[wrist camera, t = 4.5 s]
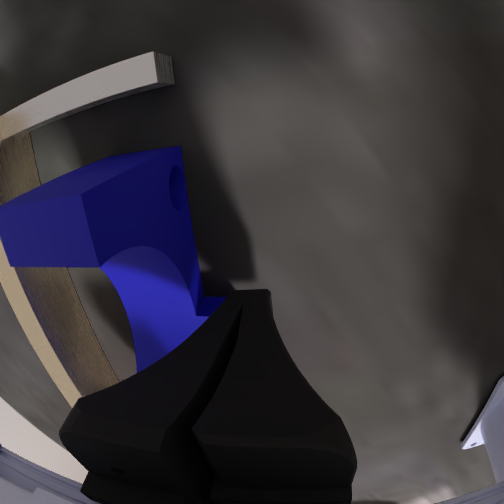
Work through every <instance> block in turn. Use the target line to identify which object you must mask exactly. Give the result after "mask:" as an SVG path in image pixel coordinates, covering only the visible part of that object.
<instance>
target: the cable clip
mask: <svg viewBox="0 0 504 504" xmlns="http://www.w3.org/2000/svg"><path fill="white" fill-rule="evenodd" d="M0 238H1V241H2V244H3V247H4V250H5V253H6V256H7V259H8V262H9V264H10V267H100V268H101V269H102V270H103V271H104V272H105V274H106V275H107V276H108V278H109V279H110V280H111V282H112V283H113V285H114V286H115V288H116V290H117V292H118V294H119V296H120V298H121V300H122V302H123V305H124V307H125V310H126V313H127V316H128V319H129V323H130V326H131V330H132V335H133V340H134V346H135V354H136V364H137V373H139V372H140V371H142V370H144V369H145V368H147V367H148V366H150V365H152V364H153V363H155V362H156V361H158V360H160V359H161V358H163V357H164V356H165V355H167V354H168V353H169V352H171V351H172V350H173V349H175V348H176V347H177V346H179V345H180V344H181V343H182V342H183V341H185V340H186V339H187V338H188V337H189V336H190V335H191V334H192V333H193V332H194V331H195V330H196V329H198V328H199V327H200V326H201V325H202V324H203V323H204V322H205V321H206V320H207V318H208V317H209V316H210V315H211V314H212V313H213V312H214V311H215V310H216V309H217V308H218V307H219V306H220V304H221V303H222V302H223V301H224V300H225V299H226V298H227V297H204V291H203V286H202V281H201V275H200V269H199V264H198V258H197V252H196V246H195V240H194V234H193V228H192V222H191V215H190V209H189V202H188V196H187V189H186V182H185V175H184V168H183V160H182V153H181V146H174V147H167V148H160V149H153V150H146V151H140V152H133V153H127V154H122V155H116V156H110V157H106V158H103V159H101V160H98V161H96V162H93V163H91V164H88V165H86V166H84V167H81V168H79V169H76V170H74V171H72V172H69V173H67V174H65V175H62V176H60V177H58V178H56V179H53V180H51V181H49V182H47V183H45V184H43V185H40V186H38V187H36V188H34V189H32V190H30V191H28V192H26V193H24V194H22V195H20V196H18V197H16V198H14V199H12V200H10V201H8V202H6V203H4V204H3V205H1V206H0Z"/></svg>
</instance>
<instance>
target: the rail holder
mask: <svg viewBox="0 0 504 504" xmlns="http://www.w3.org/2000/svg"><path fill="white" fill-rule="evenodd" d="M173 84H175V81H174V74H173V67H172V59H171V57H170V56H167V55H164V54H160V53H157V52H154V51H153V52H149V53H146V54H143V55H139V56H136V57H133V58H130V59H127V60H124V61H121V62H118V63H115V64H112V65H109V66H107V67H104V68H101V69H98V70H96V71H93V72H91V73H88V74H86V75H83V76H81V77H78V78H76V79H74V80H71V81H69V82H67V83H64V84H62V85H60V86H58V87H55V88H53V89H51V90H49V91H47V92H45V93H43V94H41V95H39V96H37V97H35V98H33V99H31V100H29V101H27V102H25V103H23V104H21V105H19V106H18V107H16V108H14V109H12V110H10V111H9V112H7V113H5V114H3V115H1V116H0V206H1V205H3V204H4V203H6V202H8V201H10V200H12V199H14V198H16V197H18V196H20V195H22V194H24V193H26V192H28V191H30V190H32V189H34V188H36V187H38V186H40V185H41V184H40V180H39V176H38V171H37V167H36V163H35V158H34V153H33V149H32V143H31V138H30V133H29V132H31V131H33V130H35V129H38V128H40V127H42V126H45V125H47V124H49V123H52V122H54V121H57V120H59V119H62V118H65V117H67V116H70V115H72V114H75V113H78V112H81V111H83V110H86V109H89V108H92V107H95V106H98V105H101V104H104V103H107V102H110V101H113V100H117V99H120V98H123V97H127V96H130V95H134V94H137V93H141V92H145V91H148V90H152V89H156V88H160V87H164V86H169V85H173ZM0 282H1V284H2V287H3V289H4V291H5V293H6V296H7V298H8V300H9V302H10V304H11V306H12V308H13V310H14V312H15V314H16V316H17V318H18V320H19V322H20V324H21V326H22V328H23V330H24V332H25V334H26V335H27V337H28V339H29V341H30V343H31V344H32V346H33V348H34V350H35V351H36V353H37V355H38V357H39V358H40V360H41V362H42V363H43V365H44V366H45V368H46V370H47V371H48V373H49V374H50V376H51V378H52V379H53V381H54V382H55V384H56V385H57V387H58V388H59V390H60V391H61V393H62V394H63V395H64V397H65V398H66V400H67V401H68V403H69V404H70V405H71V407H72V408H73V407H74V405H75V403H76V402H77V400H78V398H80V397H84V396H86V395H89V394H92V393H95V392H97V391H100V390H103V389H105V388H108V387H110V386H112V385H115V384H117V383H119V381H118V379H117V377H116V375H115V374H114V372H113V370H112V368H111V366H110V364H109V362H108V360H107V358H106V356H105V354H104V352H103V350H102V348H101V346H100V344H99V342H98V340H97V338H96V336H95V334H94V332H93V330H92V328H91V325H90V323H89V321H88V319H87V316H86V314H85V312H84V310H83V307H82V305H81V303H80V300H79V298H78V295H77V293H76V291H75V288H74V286H73V283H72V280H71V278H70V275H69V273H68V270H67V267H10V264H9V262H8V259H7V256H6V253H5V250H4V247H3V244H2V241H1V238H0Z"/></svg>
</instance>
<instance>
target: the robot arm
mask: <svg viewBox="0 0 504 504" xmlns="http://www.w3.org/2000/svg"><path fill="white" fill-rule="evenodd" d="M59 436H60V439H61V441H62V443H63V445H64V446H65V447H66V449H67V450H68V451H69V452H70V453H71V454H72V455H73V456H74V457H75V458H76V459H77V460H78V461H79V462H80V463H81V464H82V465H83V466H84V467H85V468H86V469H87V470H88V471H89V472H88V474H87V476H86V479H85V481H84V483H83V484H81V483H78V482H76V481H73V480H71V479H68V478H66V477H63V476H61V475H59V474H56V473H54V472H52V471H50V470H47V469H45V468H43V467H41V466H39V465H37V464H35V463H32V462H30V461H28V460H26V459H24V458H23V457H21V456H19V455H17V454H15V453H13V452H11V451H9V450H8V449H6V448H4V447H2V446H1V444H0V504H351V500H352V485H351V484H352V482H353V479H354V475H355V472H356V469H357V458H356V454H355V450H354V447H353V444H352V441H351V439H350V437H349V434H348V432H347V430H346V428H345V426H344V424H343V422H342V419H341V418H340V416H338V415H337V414H336V413H335V412H334V411H333V410H332V409H331V408H330V407H329V406H328V405H327V404H326V403H325V402H324V401H323V400H322V399H321V397H320V396H319V395H318V394H317V393H316V392H315V391H314V389H313V388H312V387H311V386H310V384H309V383H308V382H307V380H306V379H305V378H304V376H303V375H302V374H301V372H300V371H299V369H298V368H297V366H296V365H295V363H294V362H293V360H292V358H291V357H290V355H289V353H288V351H287V349H286V347H285V345H284V343H283V341H282V339H281V337H280V335H279V332H278V330H277V327H276V324H275V321H274V318H273V310H272V301H271V292H270V291H269V290H268V289H256V290H233V291H232V292H231V293H230V294H229V295H228V297H227V298H226V299H225V300H224V301H223V302H222V303H221V304H220V306H219V307H218V308H217V309H216V310H215V311H214V312H213V313H212V314H211V315H210V316H209V317H208V318H207V320H206V321H205V322H204V323H203V324H202V325H201V326H200V327H199V328H198V329H196V330H195V331H194V332H193V333H192V334H191V335H190V336H189V337H188V338H187V339H186V340H185V341H183V342H182V343H181V344H180V345H179V346H177V347H176V348H175V349H173V350H172V351H171V352H169V353H168V354H167V355H165V356H164V357H163V358H161V359H160V360H158V361H156V362H155V363H153V364H152V365H150V366H148V367H147V368H145V369H144V370H142V371H140V372H139V373H137V374H135V375H133V376H131V377H129V378H127V379H125V380H123V381H121V382H119V383H117V384H115V385H112V386H110V387H108V388H105V389H103V390H100V391H97V392H95V393H92V394H89V395H86V396H84V397H80V398H78V400H77V402H76V403H75V405H74V407H73V408H72V410H71V412H70V413H69V415H68V417H67V418H66V420H65V422H64V424H63V425H62V427H61V429H60V431H59ZM481 444H485V447H486V450H487V453H488V456H489V459H490V463H491V466H492V469H493V473H494V476H495V480H496V483H497V484H494V485H491V486H489V487H486V488H483V489H481V490H478V491H475V492H472V493H469V494H466V495H463V496H460V497H456V498H453V499H449V500H446V501H442V502H439V503H435V504H504V376H503V377H502V378H501V379H500V380H499V381H498V383H497V385H496V387H495V389H494V390H493V392H492V394H491V396H490V398H489V400H488V402H487V403H486V405H485V407H484V409H483V410H482V412H481V414H480V415H479V417H478V419H477V420H476V422H475V424H474V425H473V427H472V429H471V430H470V432H469V433H468V435H467V436H466V438H465V439H464V441H463V442H462V444H461V447H462V449H468V448H471V447H475V446H478V445H481Z"/></svg>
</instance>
